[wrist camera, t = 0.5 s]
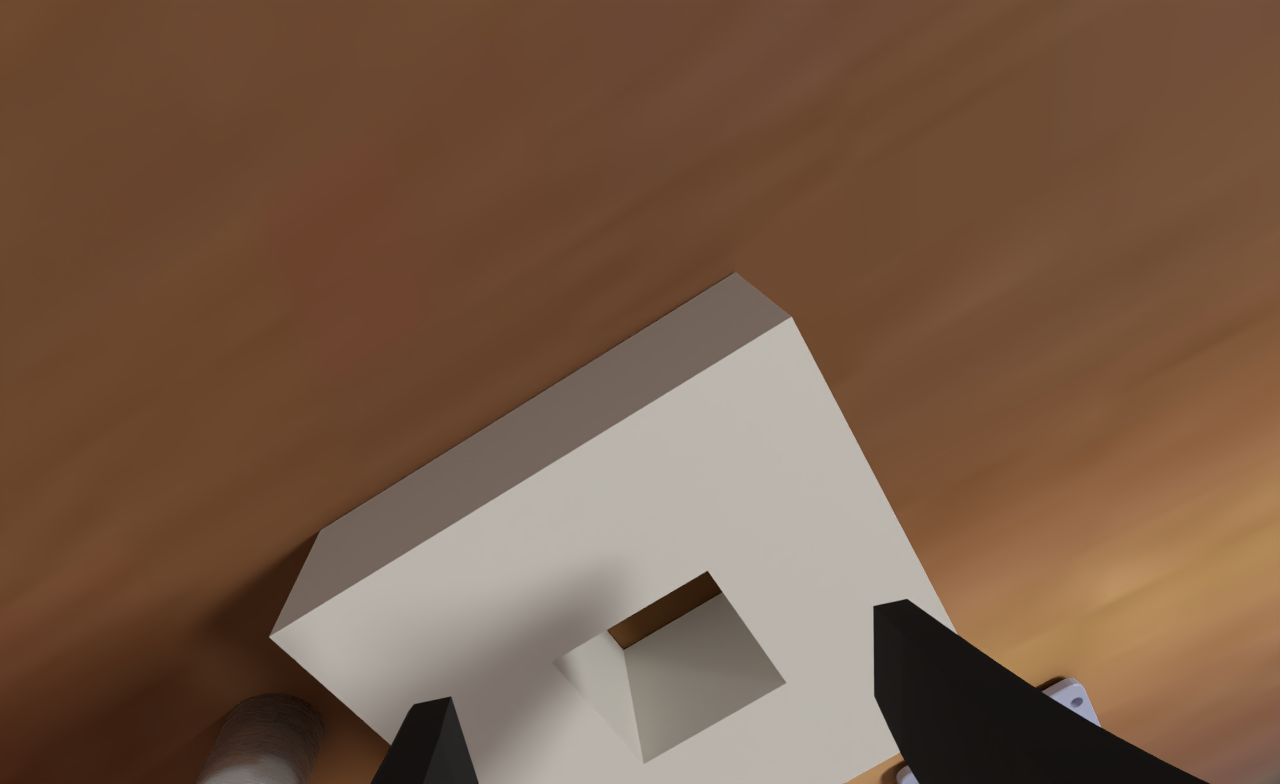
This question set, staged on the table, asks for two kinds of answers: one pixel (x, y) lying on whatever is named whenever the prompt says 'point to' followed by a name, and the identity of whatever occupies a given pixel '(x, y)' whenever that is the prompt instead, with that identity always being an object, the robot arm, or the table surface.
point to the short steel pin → (266, 743)
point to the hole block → (630, 571)
